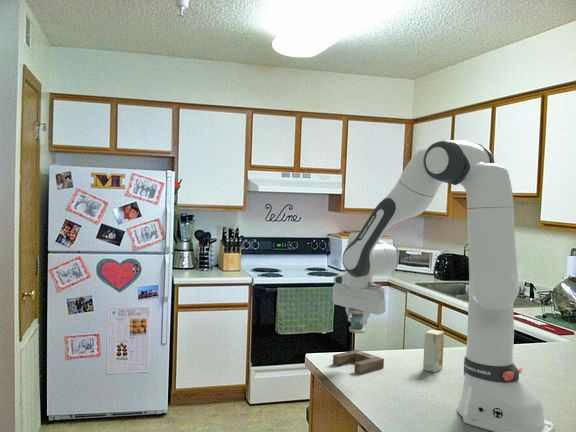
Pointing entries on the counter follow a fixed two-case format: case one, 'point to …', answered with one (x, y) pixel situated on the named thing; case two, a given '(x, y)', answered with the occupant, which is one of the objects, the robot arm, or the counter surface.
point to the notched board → (359, 361)
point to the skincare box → (433, 350)
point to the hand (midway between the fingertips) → (357, 323)
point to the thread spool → (356, 321)
